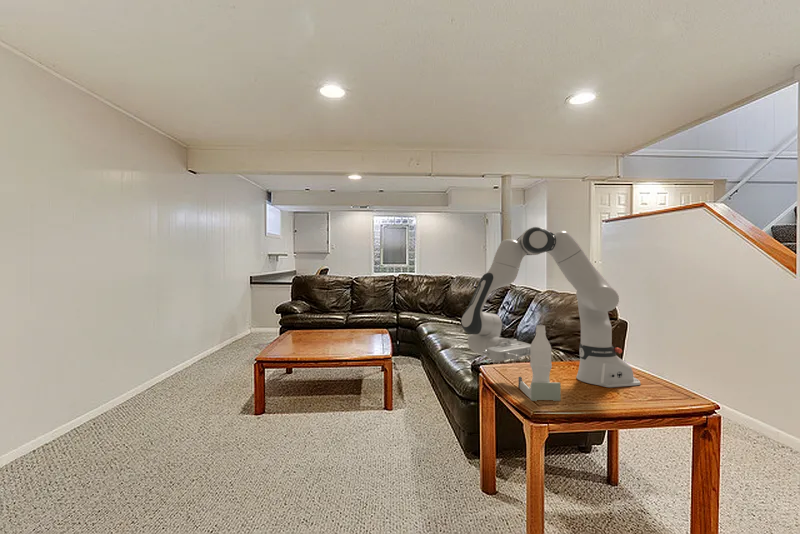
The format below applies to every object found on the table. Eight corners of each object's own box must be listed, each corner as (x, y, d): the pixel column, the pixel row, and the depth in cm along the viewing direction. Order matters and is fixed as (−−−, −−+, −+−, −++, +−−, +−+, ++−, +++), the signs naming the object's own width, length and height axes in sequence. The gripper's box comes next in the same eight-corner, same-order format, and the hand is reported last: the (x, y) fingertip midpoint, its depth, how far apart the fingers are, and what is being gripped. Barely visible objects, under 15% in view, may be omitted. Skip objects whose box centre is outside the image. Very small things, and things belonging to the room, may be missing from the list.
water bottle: (532, 399, 128) (532, 327, 128) (528, 391, 135) (528, 323, 135) (554, 399, 127) (554, 327, 127) (548, 392, 134) (548, 324, 134)
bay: (544, 387, 141) (544, 371, 141) (560, 400, 127) (560, 383, 127) (518, 387, 141) (518, 371, 141) (532, 400, 127) (532, 383, 126)
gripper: (479, 343, 143) (506, 350, 131) (516, 338, 154) (545, 344, 142) (479, 360, 143) (506, 368, 131) (517, 353, 154) (545, 360, 142)
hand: (526, 355), depth 137 cm, fingers open, 8 cm apart
